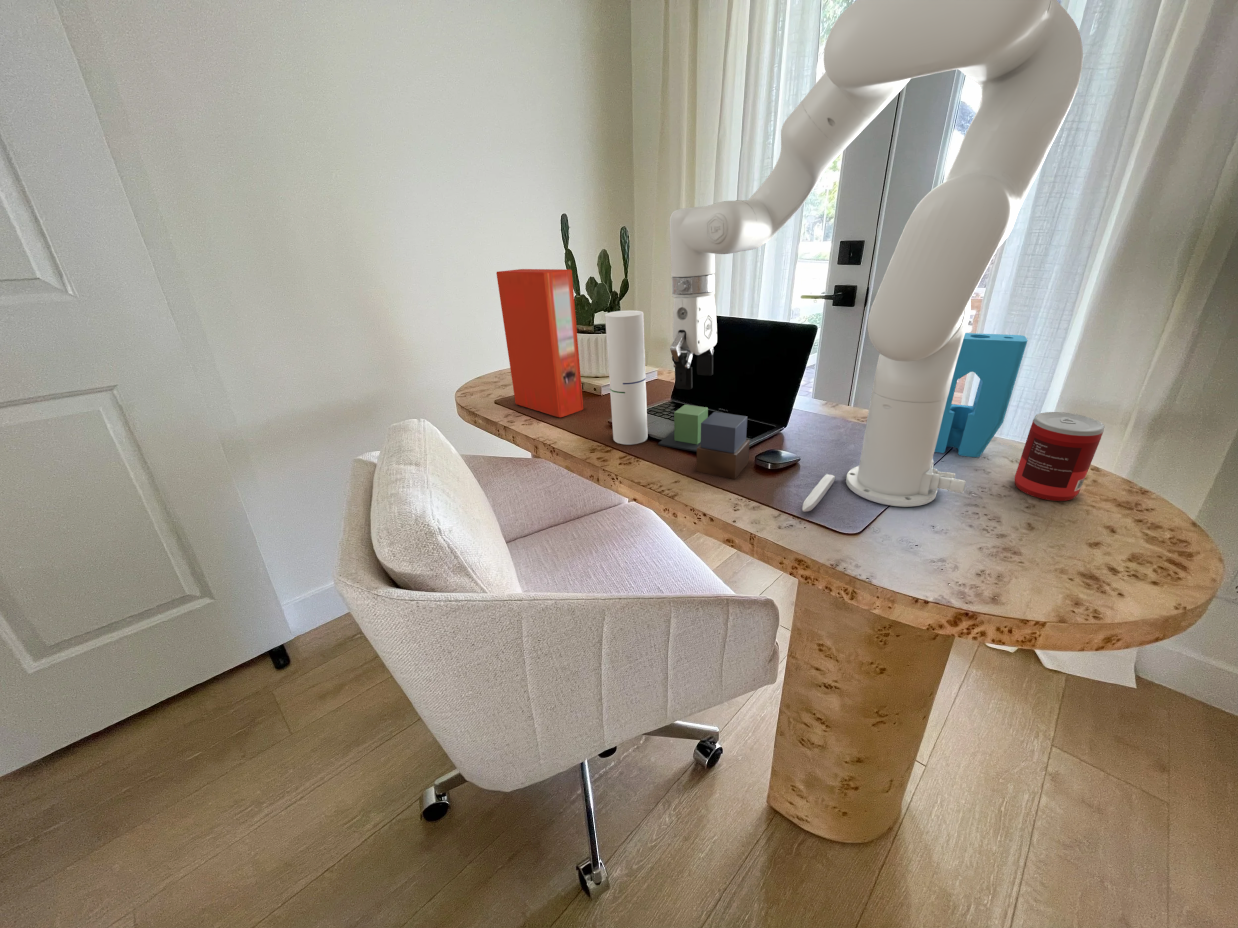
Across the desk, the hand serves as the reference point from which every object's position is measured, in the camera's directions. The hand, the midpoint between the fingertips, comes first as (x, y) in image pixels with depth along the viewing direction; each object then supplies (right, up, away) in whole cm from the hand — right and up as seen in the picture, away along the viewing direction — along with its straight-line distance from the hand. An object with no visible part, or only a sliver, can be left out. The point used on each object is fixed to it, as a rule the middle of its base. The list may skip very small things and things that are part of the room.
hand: (694, 381), depth 93 cm
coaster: (0, -11, +6) cm, 12 cm away
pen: (+16, -21, -17) cm, 32 cm away
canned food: (+50, -20, -19) cm, 57 cm away
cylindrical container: (-12, -10, +9) cm, 18 cm away
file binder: (-32, -2, +30) cm, 44 cm away
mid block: (+4, -12, -8) cm, 15 cm away
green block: (0, -10, +6) cm, 12 cm away
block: (+45, -13, -5) cm, 48 cm away
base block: (+4, -16, -6) cm, 18 cm away
